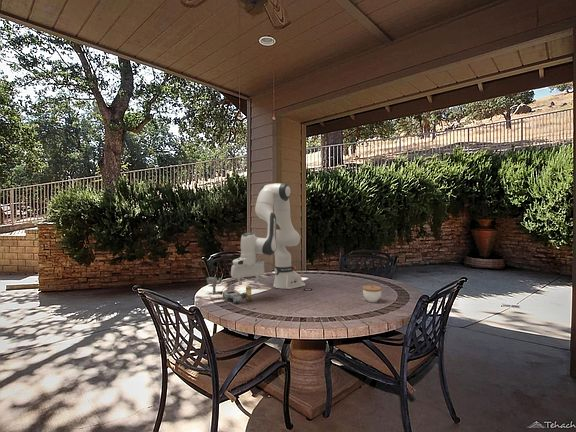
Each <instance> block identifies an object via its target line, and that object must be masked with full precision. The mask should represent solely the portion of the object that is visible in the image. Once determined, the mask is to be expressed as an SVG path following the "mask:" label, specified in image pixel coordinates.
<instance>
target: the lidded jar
mask: <svg viewBox="0 0 576 432" xmlns="http://www.w3.org/2000/svg"><path fill="white" fill-rule="evenodd" d="M362 295H363V297H364V299H365V300H366V301H367V302H369V303H377V302H378V301H379V300H380V299H381V296H382V287H381V286H379V285H374V284H371V285H369V284H368V285H364V286H362Z"/></svg>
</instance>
